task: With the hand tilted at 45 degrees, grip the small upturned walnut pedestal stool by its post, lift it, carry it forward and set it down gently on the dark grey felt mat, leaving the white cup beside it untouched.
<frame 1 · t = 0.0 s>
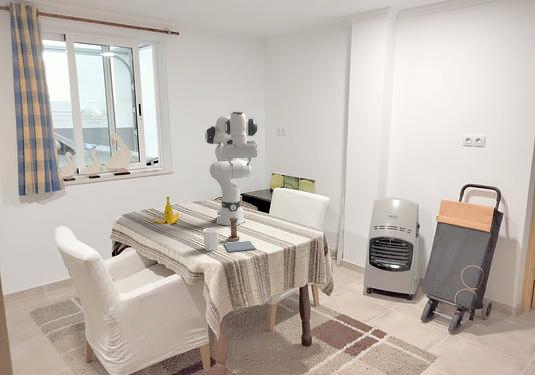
hand: (239, 166, 218), 39 cm above the table, tool pointing down, fingers open, 8 cm apart
white cup: (211, 249, 200), on the table
stool: (233, 239, 215), on the table
banana peel: (171, 221, 251), on the table
felt mat: (239, 247, 202), on the table
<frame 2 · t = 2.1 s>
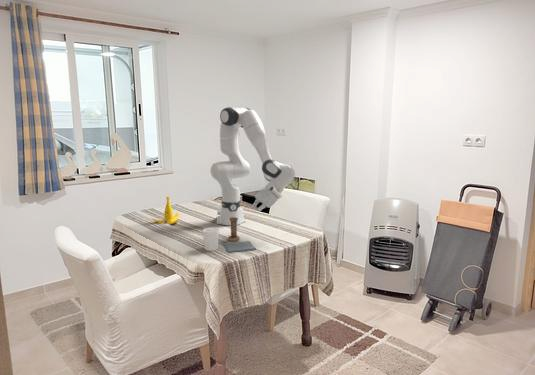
hand: (255, 208, 215), 17 cm above the table, tool tilted 45°, fingers open, 8 cm apart
nothing on the table moved.
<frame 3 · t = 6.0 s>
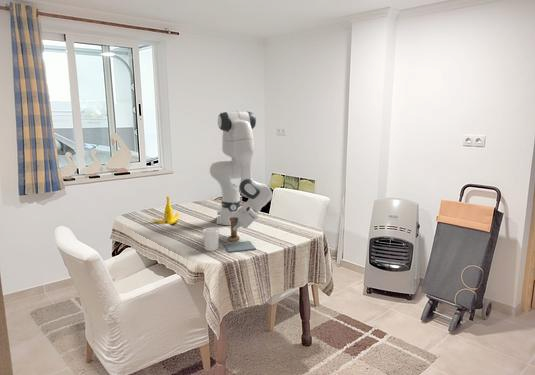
hand: (232, 228, 213), 6 cm above the table, tool tilted 45°, fingers closed on stool, 3 cm apart
stool: (233, 239, 215), on the table, touching gripper
everything else where it was.
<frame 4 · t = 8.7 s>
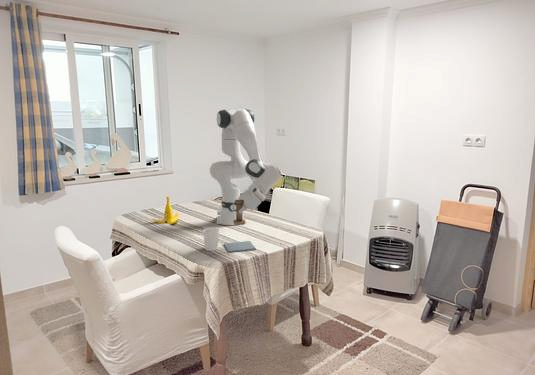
hand: (238, 211, 199), 19 cm above the table, tool tilted 45°, fingers closed on stool, 3 cm apart
stool: (239, 223, 200), point 13 cm above the table, touching gripper
everything else where it was.
when the fingers open (8 cm above the table, at t = 11.4 s): stool stays where it is, resting on felt mat.
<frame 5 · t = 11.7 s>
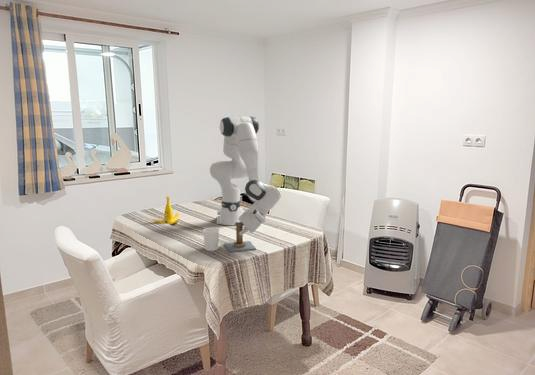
hand: (238, 232, 201), 8 cm above the table, tool tilted 45°, fingers open, 5 cm apart
stool: (239, 245, 202), point 1 cm above the table, touching felt mat
everything else where it was.
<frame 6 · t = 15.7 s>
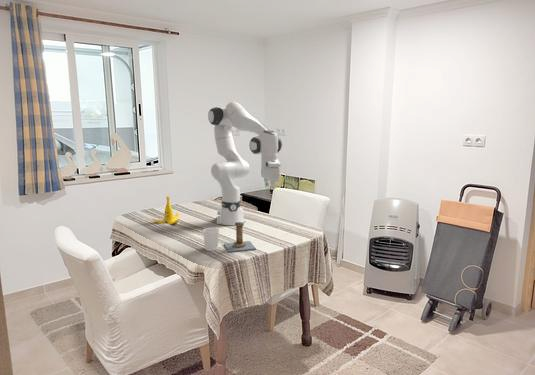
hand: (269, 187, 208), 29 cm above the table, tool pointing down, fingers open, 8 cm apart
nothing on the table moved.
at the end: stool inside the target area on the felt mat (0.0 cm from its centre), point 0.8 cm above the felt mat's base; stool tilted 0°; the gripper is holding nothing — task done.
